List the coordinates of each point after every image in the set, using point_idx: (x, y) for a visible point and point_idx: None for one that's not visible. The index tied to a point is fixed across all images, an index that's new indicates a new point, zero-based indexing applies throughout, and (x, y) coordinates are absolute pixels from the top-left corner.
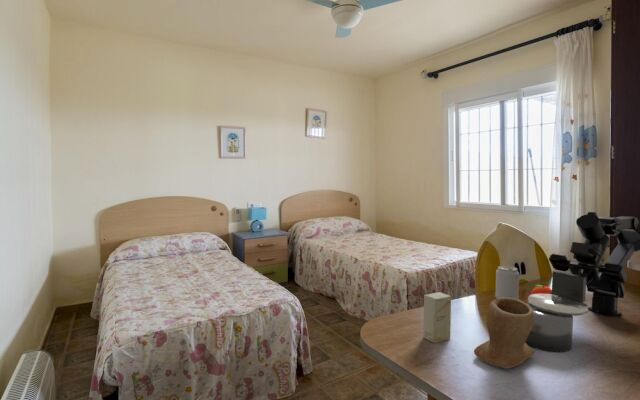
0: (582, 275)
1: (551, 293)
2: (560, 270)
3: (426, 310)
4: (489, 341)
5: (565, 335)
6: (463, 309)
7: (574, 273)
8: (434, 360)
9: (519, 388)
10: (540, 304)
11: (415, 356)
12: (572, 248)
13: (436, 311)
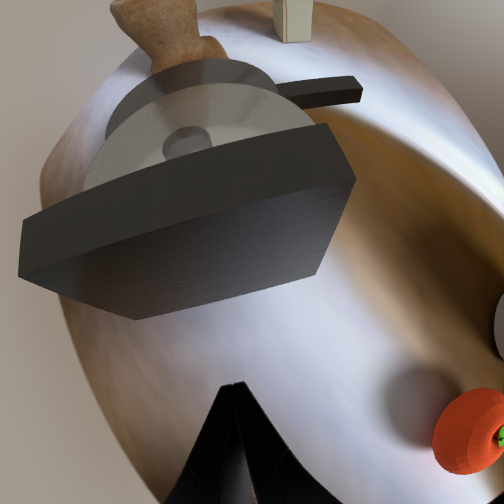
0: (203, 502)
1: (454, 451)
2: (495, 498)
3: None
4: (213, 47)
5: None
6: (442, 138)
7: (303, 493)
8: (228, 20)
9: (130, 62)
10: (201, 90)
11: (246, 13)
12: None
13: None
